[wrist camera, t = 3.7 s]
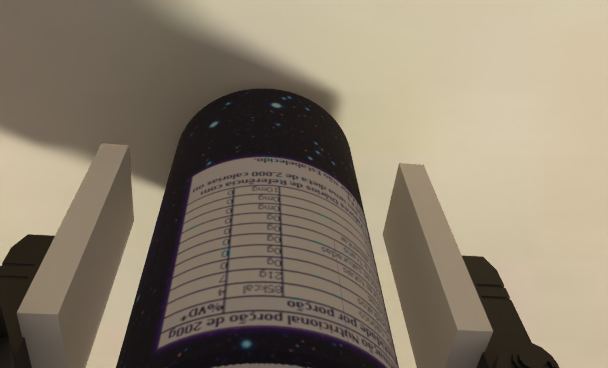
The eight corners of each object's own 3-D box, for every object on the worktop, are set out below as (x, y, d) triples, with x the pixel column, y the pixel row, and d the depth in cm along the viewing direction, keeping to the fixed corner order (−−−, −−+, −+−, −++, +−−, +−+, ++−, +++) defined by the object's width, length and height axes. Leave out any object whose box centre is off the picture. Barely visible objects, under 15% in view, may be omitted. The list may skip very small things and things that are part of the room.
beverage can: (144, 127, 19) (-6, 506, 9) (298, 43, 17) (333, 376, 7) (237, 244, 21) (207, 630, 11) (375, 180, 20) (478, 553, 10)
